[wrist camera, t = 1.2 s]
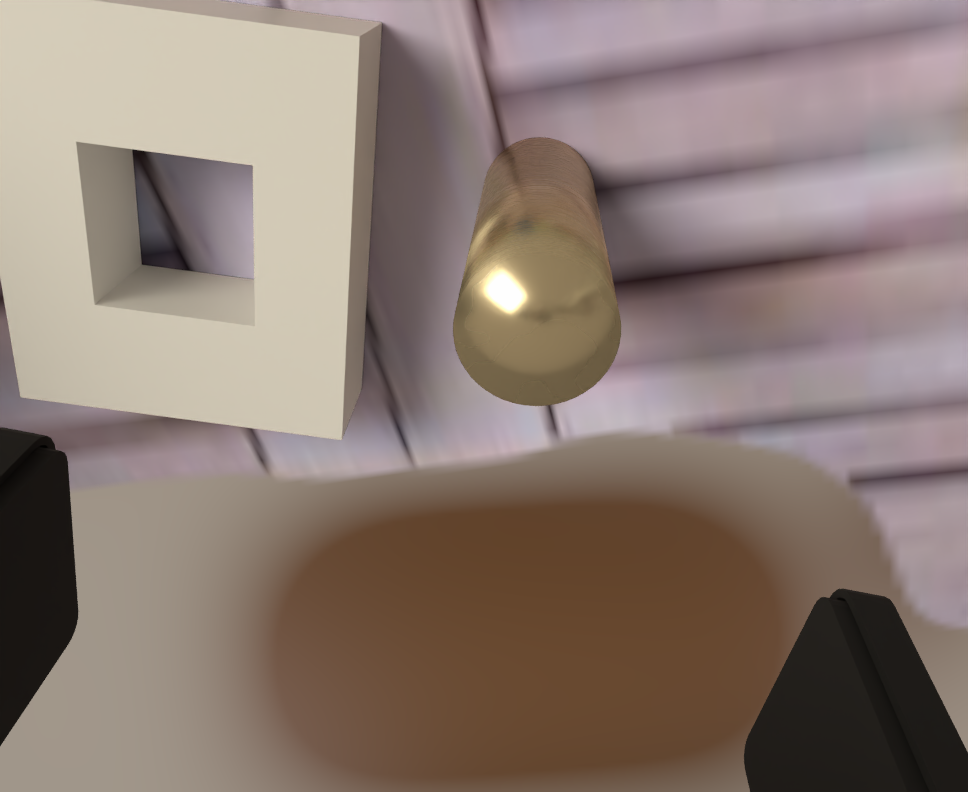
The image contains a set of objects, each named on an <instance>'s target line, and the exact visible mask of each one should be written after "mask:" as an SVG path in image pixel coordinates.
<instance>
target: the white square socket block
mask: <svg viewBox="0 0 968 792" xmlns="http://www.w3.org/2000/svg"><path fill="white" fill-rule="evenodd" d="M381 34H382V22H375V21H367V20H360V19H353V18H345V17H338V16H330V15H323V14H316V13H308V12H301V11H294V10H286V9H279V8H271V7H264V6H257V5H249V4H242V3H234V2H227V1H220V0H0V279H1V285H2V291H3V297H4V303H5V309H6V315H7V320H8V326H9V332H10V338H11V344H12V350H13V356H14V362H15V368H16V374H17V380H18V386H19V391H20V397H21V398H28V399H36V400H44V401H51V402H59V403H66V404H74V405H81V406H89V407H96V408H104V409H111V410H119V411H126V412H134V413H141V414H149V415H157V416H164V417H172V418H179V419H187V420H194V421H202V422H209V423H217V424H224V425H232V426H239V427H247V428H254V429H262V430H270V431H277V432H285V433H292V434H300V435H307V436H315V437H322V438H330V439H337V440H342V439H343V436H344V433H345V431H346V428H347V426H348V423H349V421H350V418H351V415H352V413H353V410H354V408H355V405H356V402H357V400H358V397H359V395H360V392H361V390H362V376H363V358H364V340H365V322H366V304H367V286H368V268H369V250H370V232H371V214H372V196H373V178H374V160H375V142H376V124H377V106H378V88H379V70H380V52H381ZM132 149H134V150H142V151H149V152H156V153H164V154H171V155H179V156H186V157H194V158H201V159H208V160H216V161H223V162H231V163H238V164H246V165H253V225H254V280H253V279H246V278H238V277H231V276H223V275H216V274H208V273H201V272H193V271H186V270H178V269H171V268H163V267H156V266H148V265H142V261H141V249H140V237H139V225H138V212H137V200H136V188H135V176H134V164H133V151H132Z"/></svg>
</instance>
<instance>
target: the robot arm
mask: <svg viewBox="0 0 968 792" xmlns="http://www.w3.org/2000/svg"><path fill="white" fill-rule="evenodd" d="M76 588H77V587H76V575H75V559H74V545H73V531H72V517H71V502H70V488H69V474H68V461H67V456H66V455H65V453H64V452H62V451H58V450H55V445H54V442H53V441H52V439H51V438H50V437H48V436H44V435H39V434H34V433H28V432H23V431H18V430H13V429H8V428H0V746H1V744H2V743H3V741H4V740H5V738H6V737H7V735H8V734H9V732H10V731H11V729H12V727H13V726H14V725H15V723H16V722H17V720H18V719H19V717H20V716H21V714H22V713H23V711H24V710H25V708H26V707H27V705H28V704H29V702H30V701H31V699H32V698H33V696H34V695H35V693H36V692H37V690H38V689H39V687H40V686H41V684H42V683H43V681H44V680H45V678H46V677H47V675H48V674H49V672H50V671H51V669H52V668H53V666H54V665H55V663H56V662H57V660H58V659H59V657H60V656H61V654H62V653H63V651H64V650H65V648H66V647H67V645H68V644H69V642H70V640H71V638H72V636H73V634H74V631H75V628H76V625H77V620H78V601H77V589H76ZM744 764H745V770H746V775H747V779H748V783H749V788H750V792H968V752H967V751H966V748H965V746H964V744H963V742H962V740H961V738H960V736H959V734H958V732H957V730H956V728H955V726H954V724H953V722H952V720H951V718H950V716H949V715H948V712H947V710H946V708H945V706H944V704H943V702H942V700H941V698H940V696H939V694H938V692H937V690H936V688H935V686H934V684H933V682H932V680H931V678H930V676H929V674H928V672H927V670H926V668H925V666H924V664H923V662H922V660H921V658H920V656H919V654H918V652H917V650H916V648H915V646H914V644H913V642H912V640H911V638H910V636H909V634H908V632H907V630H906V628H905V626H904V624H903V622H902V620H901V618H900V616H899V614H898V612H897V610H896V608H895V606H894V604H893V603H892V602H891V600H890V599H888V598H886V597H884V596H879V595H873V594H868V593H863V592H858V591H852V590H847V589H838V590H836V591H835V592H834V593H833V594H832V595H831V597H830V598H826V597H822V598H820V599H819V600H818V601H817V602H816V604H815V605H814V607H813V609H812V611H811V613H810V615H809V617H808V619H807V621H806V623H805V625H804V627H803V629H802V631H801V633H800V635H799V637H798V639H797V641H796V643H795V645H794V647H793V648H792V650H791V652H790V654H789V656H788V659H787V660H786V662H785V664H784V666H783V668H782V670H781V672H780V674H779V676H778V678H777V680H776V682H775V684H774V686H773V688H772V690H771V692H770V694H769V696H768V698H767V700H766V702H765V704H764V706H763V708H762V710H761V712H760V714H759V716H758V718H757V720H756V722H755V724H754V726H753V728H752V729H751V732H750V733H749V735H748V738H747V741H746V745H745V753H744Z"/></svg>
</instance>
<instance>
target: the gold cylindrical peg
mask: <svg viewBox="0 0 968 792" xmlns="http://www.w3.org/2000/svg"><path fill="white" fill-rule="evenodd" d="M453 336H454V343H455V347H456V351H457V354H458V356H459V359H460V361H461V363H462V365H463V366H464V368H465V370H466V371H467V372H468V374H469V375H470V376H471V377H472V378H473V379H474V380H475V381H476V382H477V383H478V384H479V385H480V386H481V387H482V388H484V389H485V390H486V391H488V392H490V393H491V394H493V395H495V396H497V397H499V398H501V399H503V400H506V401H509V402H512V403H516V404H521V405H530V406H546V405H552V404H558V403H561V402H565V401H568V400H570V399H573V398H575V397H577V396H579V395H581V394H583V393H584V392H586V391H587V390H589V389H590V388H591V387H593V386H594V385H595V384H596V383H597V382H598V381H599V380H600V379H601V378H602V377H603V376H604V375H605V373H606V372H607V371H608V369H609V368H610V366H611V365H612V363H613V361H614V359H615V356H616V354H617V351H618V348H619V344H620V337H621V321H620V315H619V309H618V304H617V299H616V294H615V289H614V284H613V279H612V274H611V269H610V263H609V258H608V253H607V248H606V243H605V238H604V233H603V228H602V223H601V218H600V213H599V207H598V202H597V197H596V192H595V187H594V182H593V178H592V174H591V172H590V169H589V167H588V165H587V164H586V162H585V160H584V159H583V158H582V157H581V156H580V154H579V153H577V152H576V151H575V150H574V149H573V148H571V147H570V146H568V145H567V144H565V143H563V142H560V141H558V140H555V139H550V138H541V137H538V138H529V139H525V140H522V141H519V142H516V143H514V144H512V145H511V146H509V147H508V148H506V149H505V150H504V151H502V152H501V153H500V154H499V155H498V156H497V158H496V159H495V160H494V161H493V163H492V164H491V166H490V168H489V170H488V172H487V175H486V178H485V182H484V186H483V191H482V195H481V200H480V204H479V209H478V213H477V218H476V222H475V227H474V231H473V235H472V240H471V244H470V249H469V253H468V258H467V262H466V267H465V271H464V276H463V280H462V284H461V289H460V293H459V298H458V302H457V307H456V311H455V316H454V322H453Z"/></svg>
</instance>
